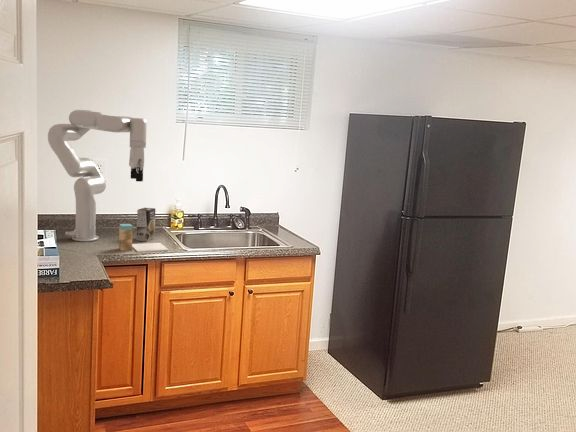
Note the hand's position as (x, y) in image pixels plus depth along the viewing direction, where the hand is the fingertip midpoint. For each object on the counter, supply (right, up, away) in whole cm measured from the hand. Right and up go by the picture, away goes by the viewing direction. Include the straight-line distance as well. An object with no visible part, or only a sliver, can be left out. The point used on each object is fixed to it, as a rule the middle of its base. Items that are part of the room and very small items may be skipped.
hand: (136, 179), depth 283 cm
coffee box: (-1, -30, +23) cm, 37 cm away
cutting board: (+5, -33, +5) cm, 34 cm away
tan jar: (-5, -33, -1) cm, 34 cm away
